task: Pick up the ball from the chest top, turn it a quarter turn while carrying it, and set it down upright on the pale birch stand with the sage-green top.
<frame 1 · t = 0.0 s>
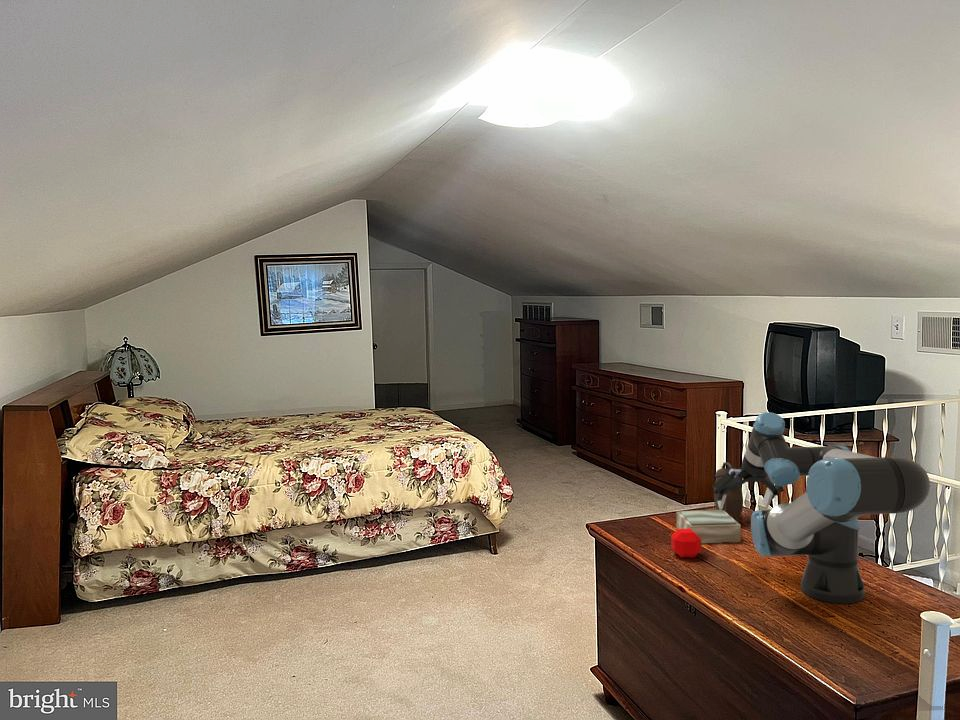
hand: (742, 505, 221), 15 cm above the table, tool tilted 35°, fingers open, 13 cm apart
brown backpack: (728, 520, 257), on the table
ball: (686, 555, 224), on the table
stand: (707, 534, 242), on the table
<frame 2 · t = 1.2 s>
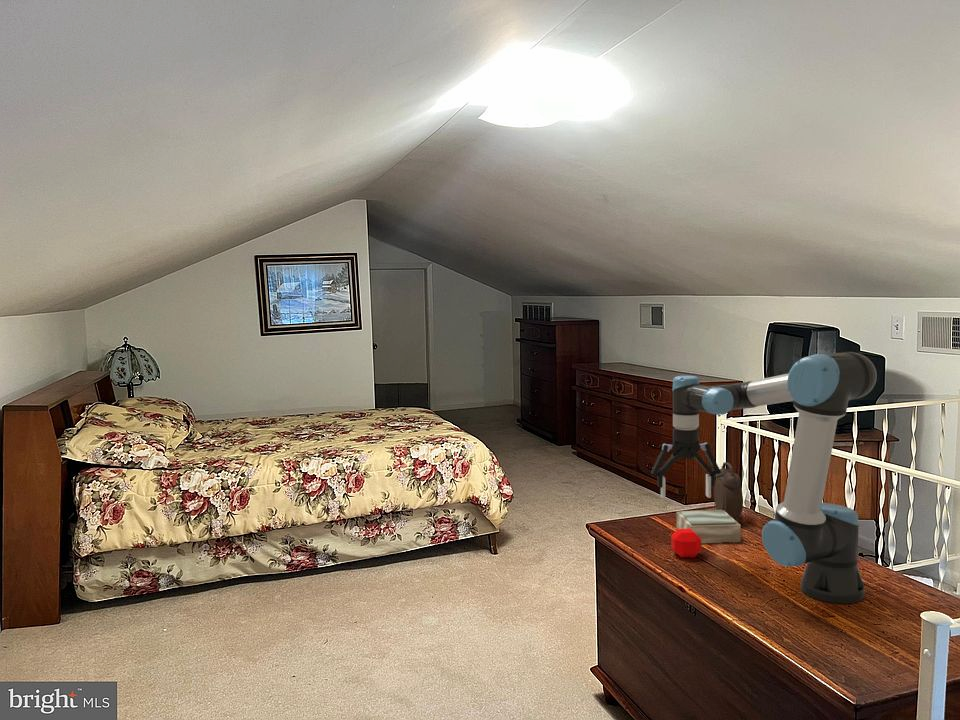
hand: (685, 497, 222), 18 cm above the table, tool pointing down, fingers open, 13 cm apart
nothing on the table moved.
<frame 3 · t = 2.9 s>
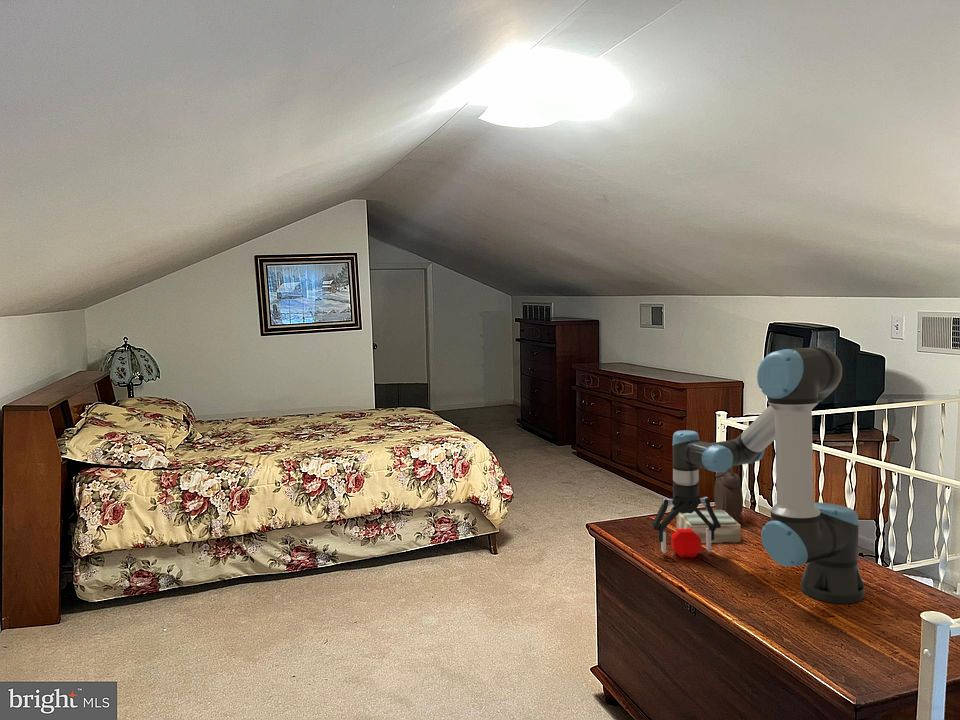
hand: (686, 551, 224), 1 cm above the table, tool pointing down, fingers open, 13 cm apart
nothing on the table moved.
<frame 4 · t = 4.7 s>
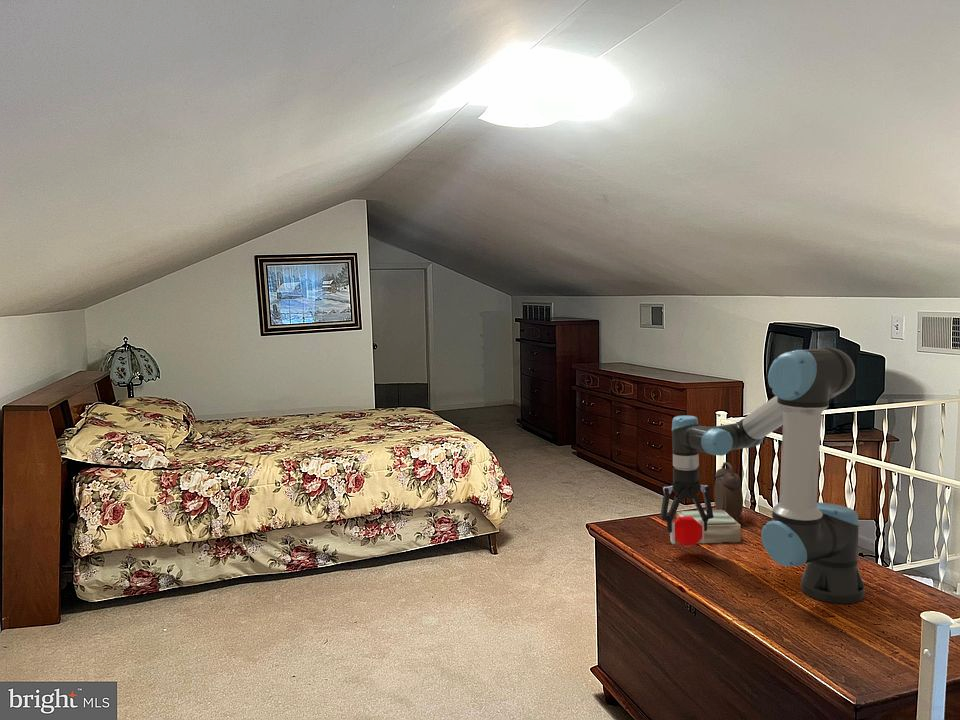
hand: (687, 541, 223), 4 cm above the table, tool pointing down, fingers closed on ball, 8 cm apart
ball: (687, 543, 223), point 4 cm above the table, touching gripper
everything else where it was.
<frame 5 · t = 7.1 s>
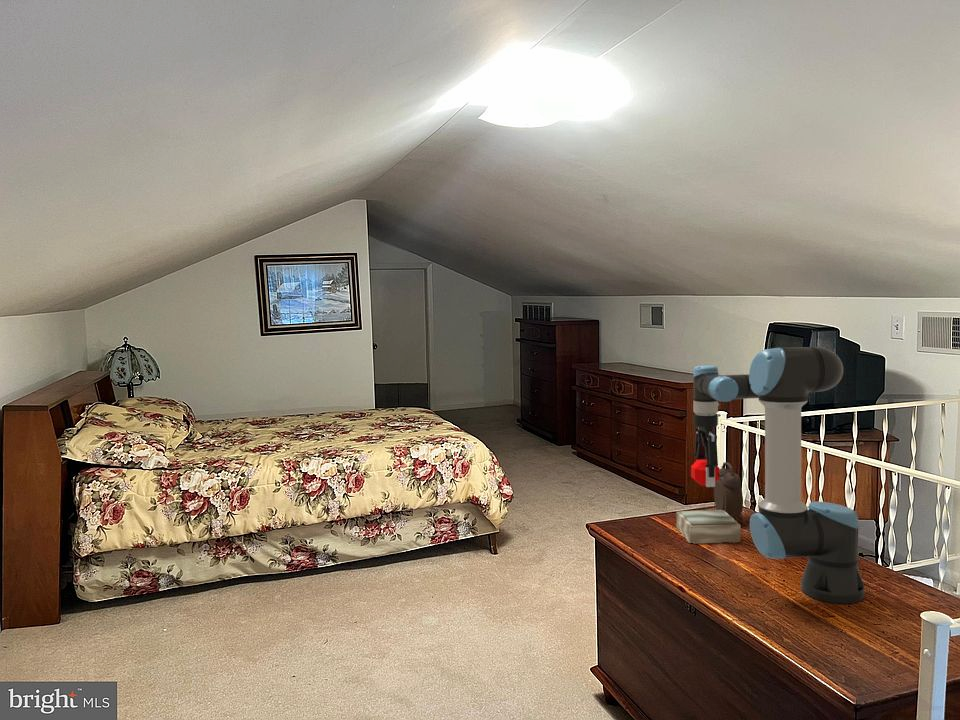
hand: (705, 483, 239), 17 cm above the table, tool pointing down, fingers closed on ball, 8 cm apart
ball: (705, 484, 239), point 17 cm above the table, touching gripper
everything else where it was.
when the fingers open (7 cm above the table, at t = 10.0 s): ball stays where it is, resting on stand.
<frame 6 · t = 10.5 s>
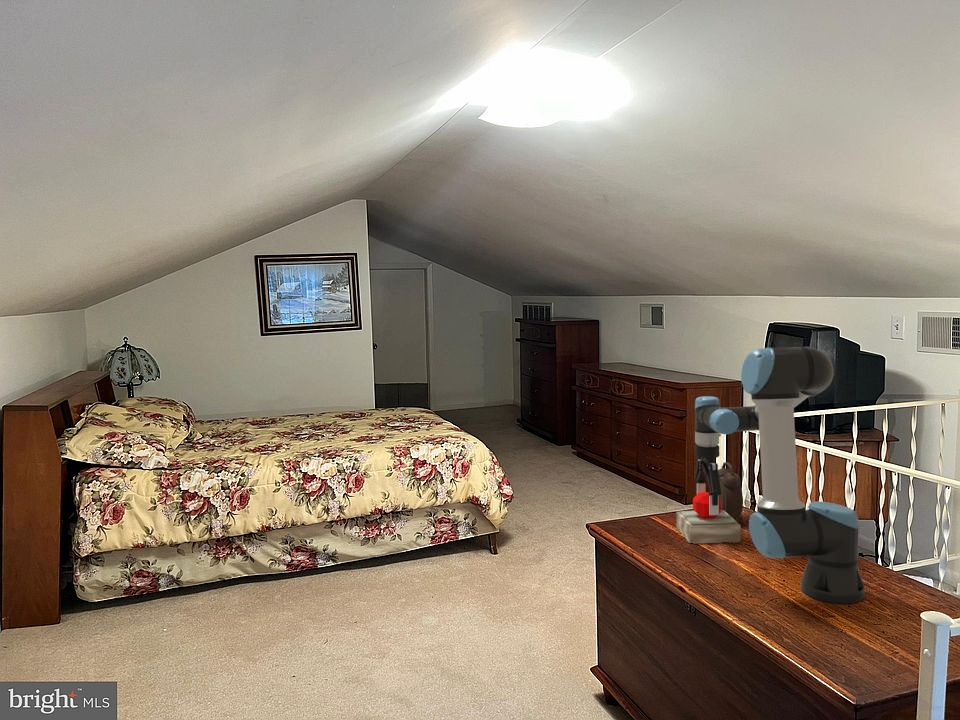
hand: (707, 508, 241), 9 cm above the table, tool pointing down, fingers open, 13 cm apart
ball: (706, 517, 241), point 6 cm above the table, touching stand
everything else where it was.
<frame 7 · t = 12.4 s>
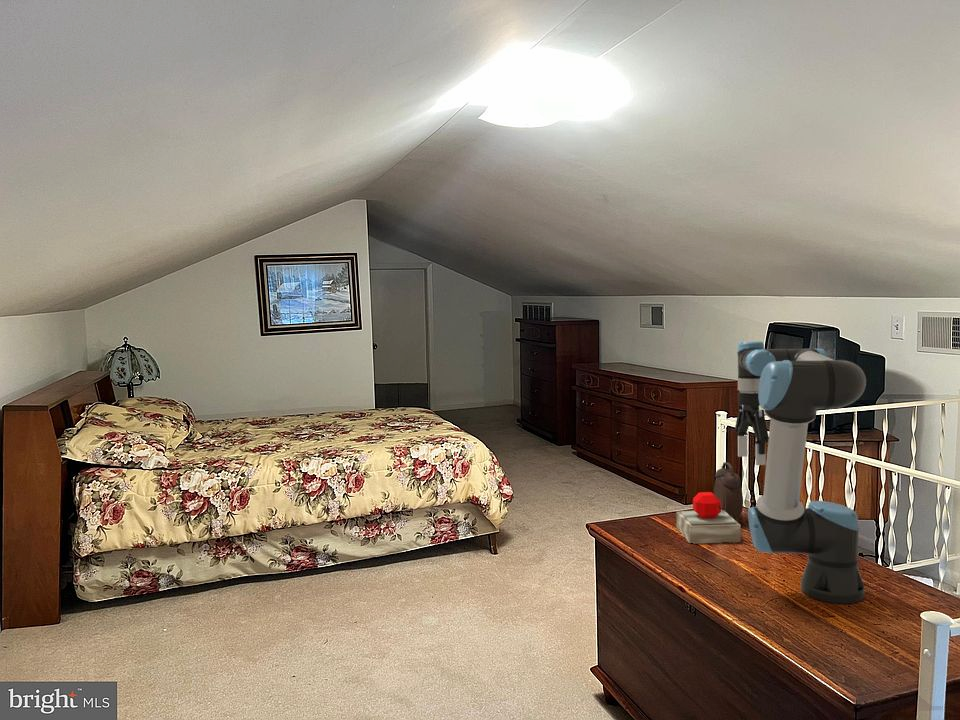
hand: (751, 460, 227), 27 cm above the table, tool pointing down, fingers open, 13 cm apart
nothing on the table moved.
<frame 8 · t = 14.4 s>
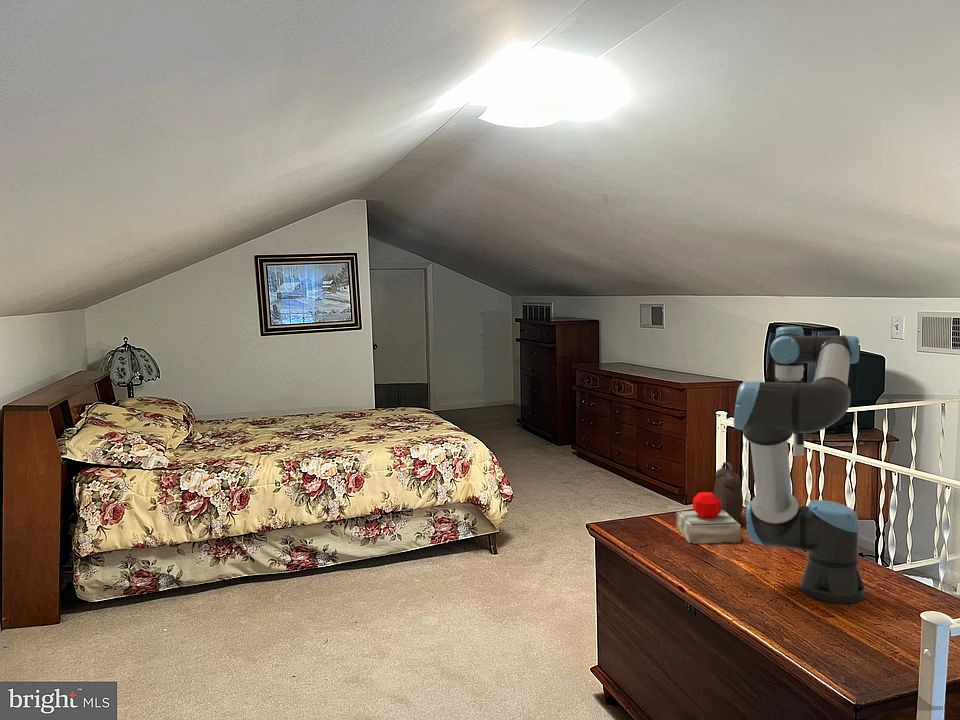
hand: (788, 450, 219), 32 cm above the table, tool pointing down, fingers open, 13 cm apart
nothing on the table moved.
at the end: ball inside the target area on the stand (0.2 cm from its centre), point 5.8 cm above the stand's base; ball tilted 0°; the gripper is holding nothing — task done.
